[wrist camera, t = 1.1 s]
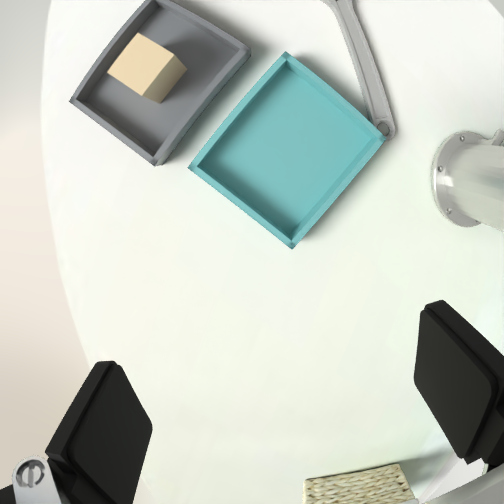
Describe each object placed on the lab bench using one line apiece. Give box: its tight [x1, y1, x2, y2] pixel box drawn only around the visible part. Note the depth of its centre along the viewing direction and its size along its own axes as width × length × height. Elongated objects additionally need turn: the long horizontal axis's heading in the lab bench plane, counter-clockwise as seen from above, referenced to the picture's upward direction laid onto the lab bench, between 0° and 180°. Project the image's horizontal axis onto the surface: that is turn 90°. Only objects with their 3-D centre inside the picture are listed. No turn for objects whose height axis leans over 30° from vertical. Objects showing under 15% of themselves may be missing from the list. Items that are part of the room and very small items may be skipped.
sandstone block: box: [107, 33, 187, 104], centre depth 28 cm, size 5×5×6 cm
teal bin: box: [188, 51, 387, 249], centre depth 32 cm, size 16×14×3 cm
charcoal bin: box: [69, 0, 251, 166], centre depth 30 cm, size 16×14×3 cm
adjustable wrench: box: [321, 0, 395, 140], centre depth 29 cm, size 25×6×2 cm, turn 12°
